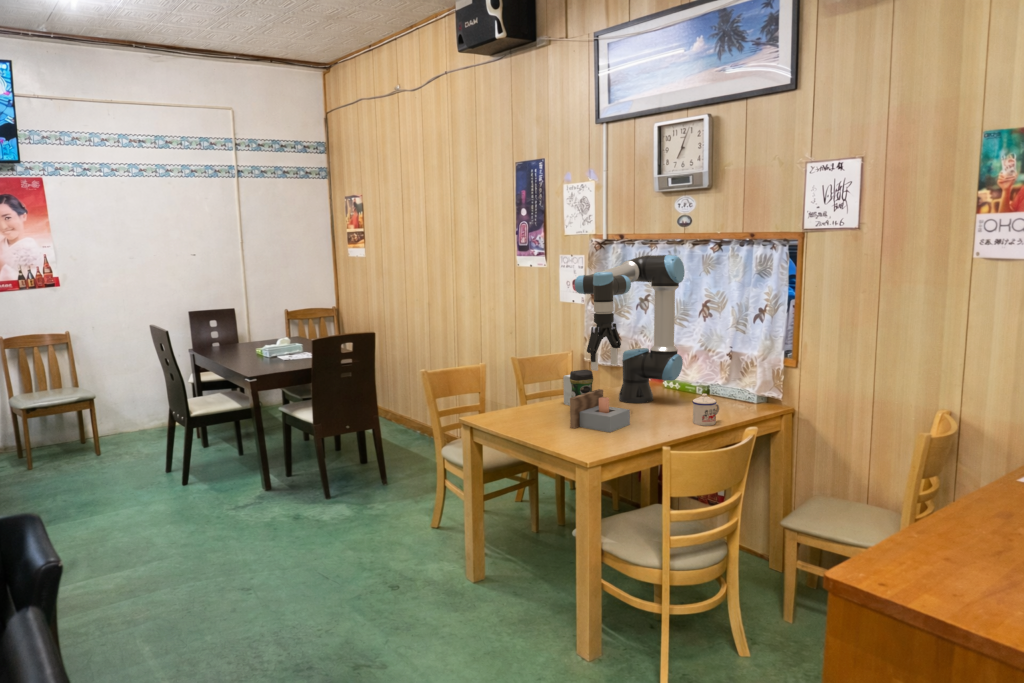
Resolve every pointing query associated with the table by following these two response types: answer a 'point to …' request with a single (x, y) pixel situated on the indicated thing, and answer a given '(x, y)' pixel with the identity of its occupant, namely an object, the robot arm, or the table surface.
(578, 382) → the coffee jar
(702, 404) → the teacup with lid
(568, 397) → the small box
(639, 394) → the robot arm
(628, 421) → the socket block
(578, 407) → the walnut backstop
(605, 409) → the dowel
